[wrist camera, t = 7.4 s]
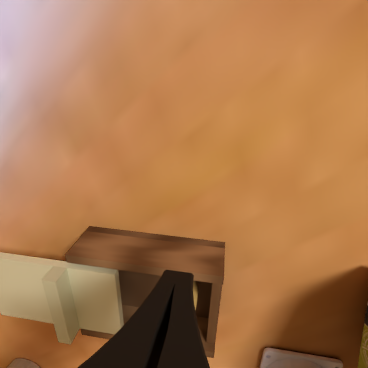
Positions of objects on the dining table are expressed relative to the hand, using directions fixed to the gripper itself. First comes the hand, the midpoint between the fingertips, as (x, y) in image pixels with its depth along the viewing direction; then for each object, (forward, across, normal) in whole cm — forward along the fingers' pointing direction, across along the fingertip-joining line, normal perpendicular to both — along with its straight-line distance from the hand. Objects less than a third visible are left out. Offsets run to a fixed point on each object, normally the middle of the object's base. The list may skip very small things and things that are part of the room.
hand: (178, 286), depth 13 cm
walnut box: (+10, +4, +10) cm, 15 cm away
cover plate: (+7, +13, +10) cm, 17 cm away
